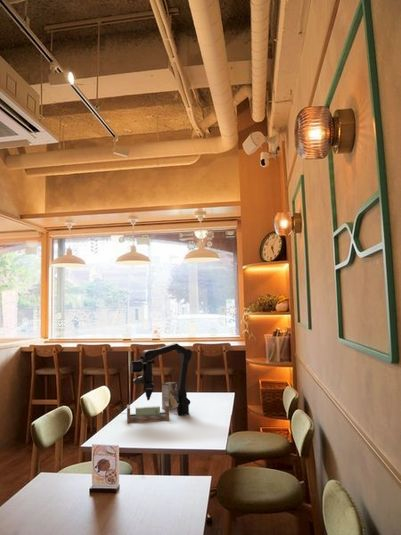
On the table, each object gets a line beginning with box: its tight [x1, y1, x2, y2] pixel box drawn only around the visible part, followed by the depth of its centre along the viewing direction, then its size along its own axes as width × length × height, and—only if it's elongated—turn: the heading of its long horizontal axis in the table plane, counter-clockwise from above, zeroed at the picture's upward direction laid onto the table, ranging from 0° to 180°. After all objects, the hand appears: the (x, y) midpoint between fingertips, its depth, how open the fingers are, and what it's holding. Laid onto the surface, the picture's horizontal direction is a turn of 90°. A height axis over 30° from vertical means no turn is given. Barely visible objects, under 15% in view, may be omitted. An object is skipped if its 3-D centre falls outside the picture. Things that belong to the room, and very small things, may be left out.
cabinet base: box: [126, 403, 170, 424], centre depth 248 cm, size 24×10×8 cm, turn 100°
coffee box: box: [161, 381, 179, 411], centre depth 277 cm, size 9×6×16 cm
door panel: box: [135, 405, 161, 416], centre depth 248 cm, size 14×3×6 cm, turn 100°
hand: (147, 398), depth 248 cm, fingers open, 9 cm apart
